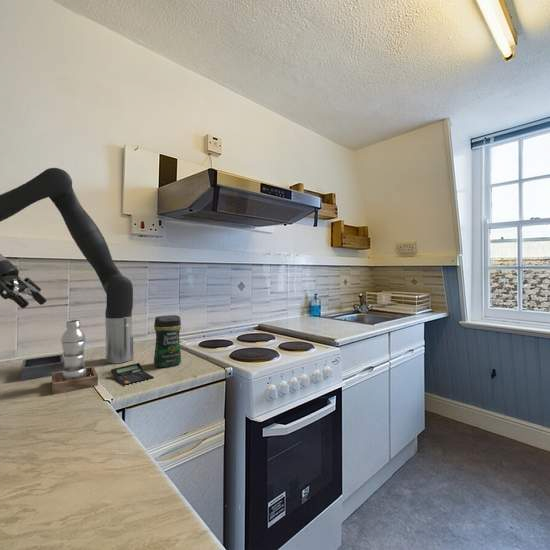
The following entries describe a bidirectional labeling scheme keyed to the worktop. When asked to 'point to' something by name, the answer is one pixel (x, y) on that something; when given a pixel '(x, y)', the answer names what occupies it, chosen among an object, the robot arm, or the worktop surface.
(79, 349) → the silver metal bottle
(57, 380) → the wooden square tray
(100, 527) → the worktop surface
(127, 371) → the calculator
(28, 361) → the gray square tray
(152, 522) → the worktop surface
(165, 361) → the coffee jar
